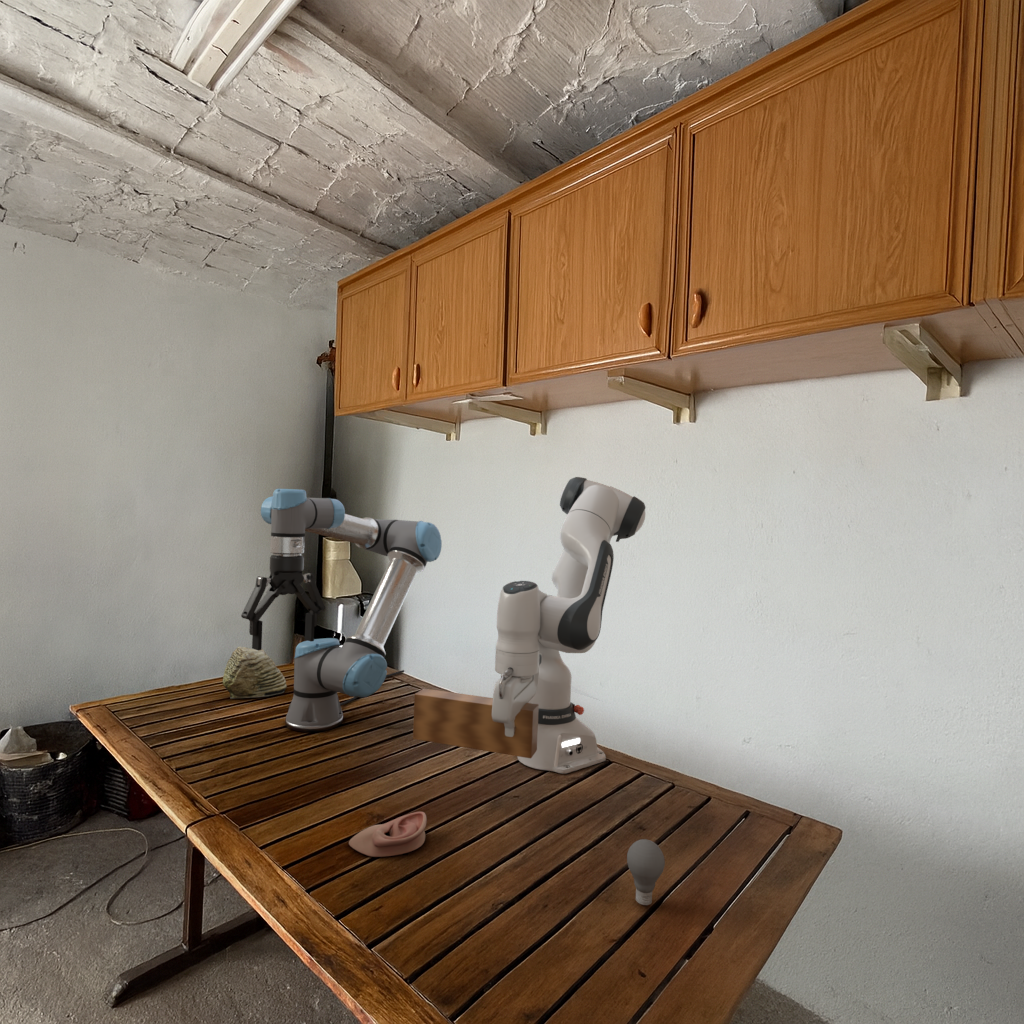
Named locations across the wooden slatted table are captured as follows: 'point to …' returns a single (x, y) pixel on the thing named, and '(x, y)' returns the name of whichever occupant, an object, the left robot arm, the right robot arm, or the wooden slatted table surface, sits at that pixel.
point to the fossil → (252, 674)
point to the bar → (472, 723)
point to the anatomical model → (392, 836)
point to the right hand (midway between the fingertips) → (514, 730)
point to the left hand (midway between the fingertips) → (283, 644)
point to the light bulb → (645, 868)
